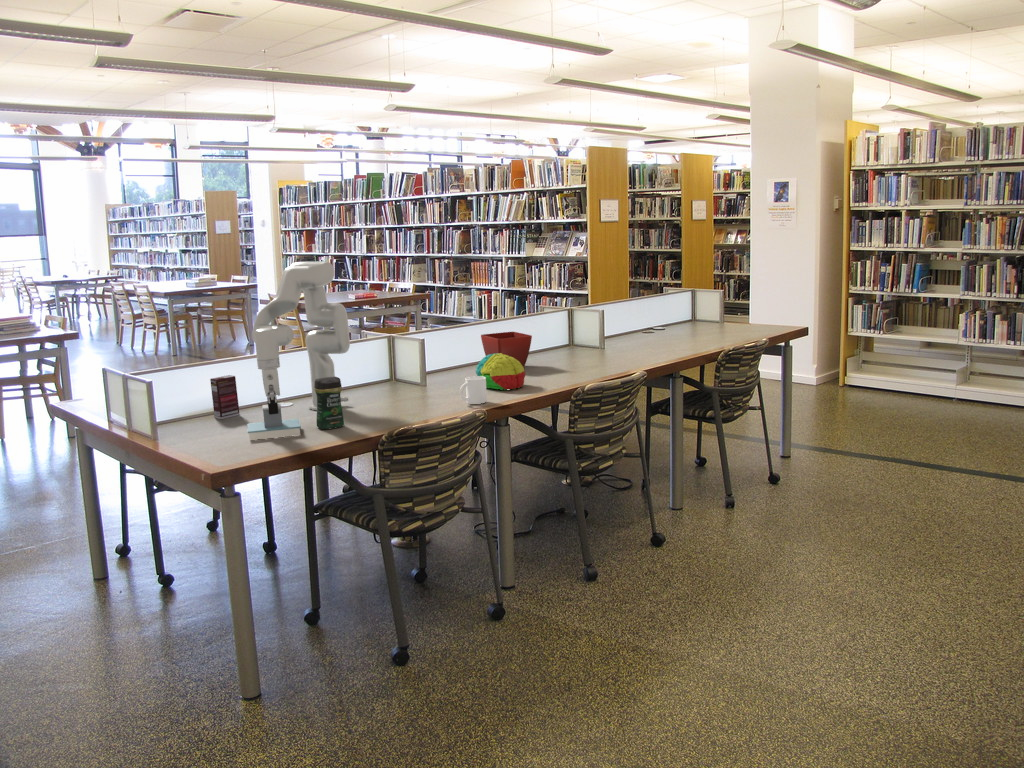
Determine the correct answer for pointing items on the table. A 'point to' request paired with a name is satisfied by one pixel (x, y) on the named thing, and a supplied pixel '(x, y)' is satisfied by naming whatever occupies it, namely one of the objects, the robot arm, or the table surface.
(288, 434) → the book
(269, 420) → the card box
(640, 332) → the table surface
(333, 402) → the coffee jar
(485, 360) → the brain model
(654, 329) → the table surface
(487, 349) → the plant pot
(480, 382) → the mug
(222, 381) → the supplement box
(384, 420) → the table surface
